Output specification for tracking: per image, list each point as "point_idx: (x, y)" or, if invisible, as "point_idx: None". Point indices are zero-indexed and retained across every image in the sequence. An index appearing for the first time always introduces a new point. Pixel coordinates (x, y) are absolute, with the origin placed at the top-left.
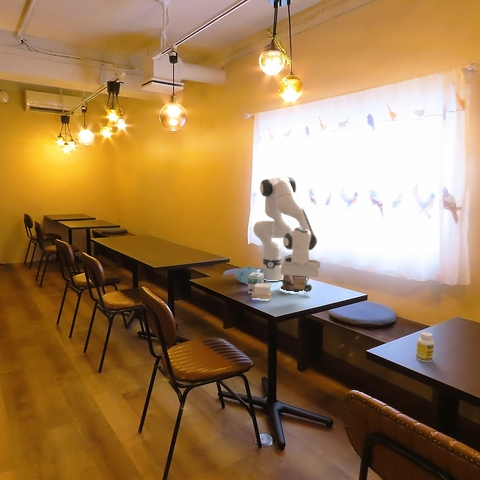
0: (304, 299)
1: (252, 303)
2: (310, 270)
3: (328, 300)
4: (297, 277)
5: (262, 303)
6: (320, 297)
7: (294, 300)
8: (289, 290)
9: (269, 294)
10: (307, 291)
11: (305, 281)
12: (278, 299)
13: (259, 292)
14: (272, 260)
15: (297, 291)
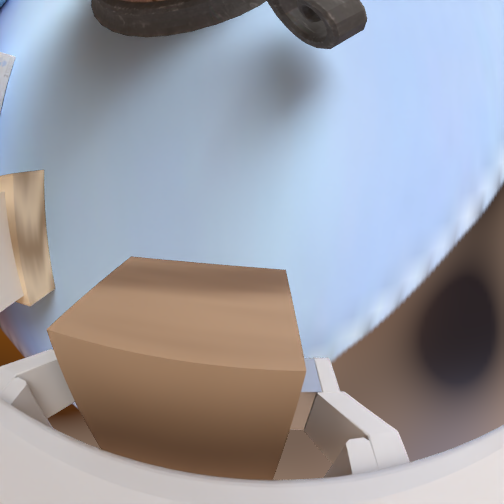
0: (280, 167)
1: (18, 327)
2: None
3: (455, 170)
4: (109, 378)
5: (43, 324)
6: (409, 90)
7: (192, 220)
8: (143, 14)
9: (23, 288)
10: (312, 45)
11: (295, 426)
12: (81, 224)
13: None
14: None
15: (214, 2)
